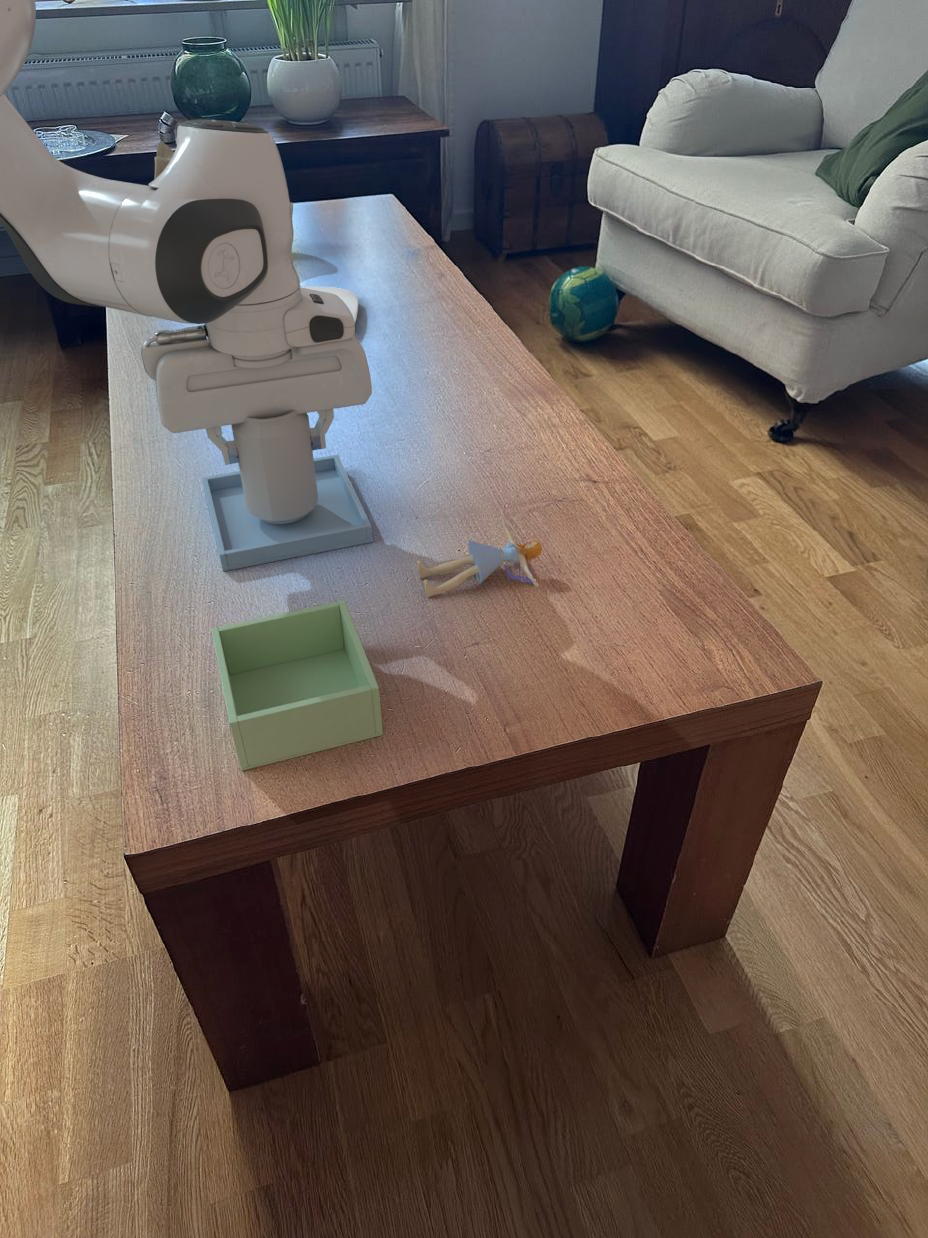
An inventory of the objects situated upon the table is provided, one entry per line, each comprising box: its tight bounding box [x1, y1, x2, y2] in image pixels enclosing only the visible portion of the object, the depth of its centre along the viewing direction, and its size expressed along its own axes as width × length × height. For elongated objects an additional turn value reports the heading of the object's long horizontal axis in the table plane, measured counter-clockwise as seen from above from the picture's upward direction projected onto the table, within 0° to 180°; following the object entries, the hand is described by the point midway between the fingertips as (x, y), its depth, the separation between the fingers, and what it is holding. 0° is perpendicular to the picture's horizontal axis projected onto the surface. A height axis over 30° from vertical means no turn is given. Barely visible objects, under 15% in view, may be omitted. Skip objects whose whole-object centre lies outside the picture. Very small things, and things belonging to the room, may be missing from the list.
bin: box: [210, 599, 384, 772], centre depth 71 cm, size 11×11×5 cm
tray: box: [201, 454, 374, 572], centre depth 93 cm, size 15×15×2 cm
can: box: [230, 410, 318, 524], centre depth 89 cm, size 8×8×12 cm
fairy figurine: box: [416, 516, 543, 598], centre depth 85 cm, size 12×5×12 cm
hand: (275, 454), depth 89 cm, fingers closed on can, 7 cm apart
